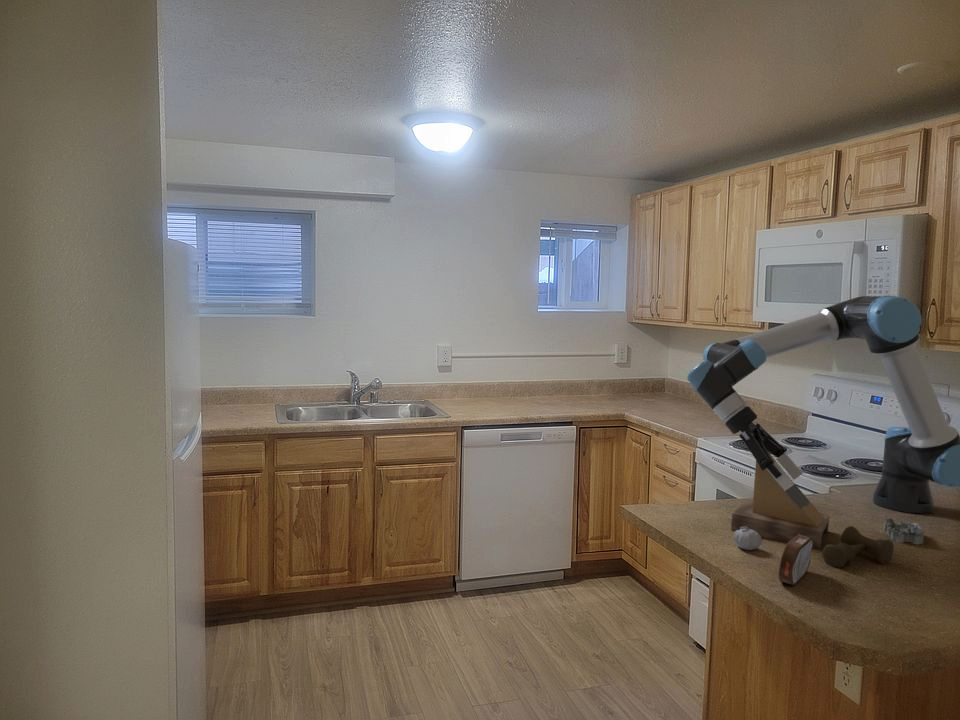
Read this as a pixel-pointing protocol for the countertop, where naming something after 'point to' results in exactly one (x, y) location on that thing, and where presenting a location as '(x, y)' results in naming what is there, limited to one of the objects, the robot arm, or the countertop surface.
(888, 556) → the kendama
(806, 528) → the walnut shelf
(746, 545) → the garlic
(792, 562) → the tin
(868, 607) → the countertop surface
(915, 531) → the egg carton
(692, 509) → the countertop surface
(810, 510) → the sandwich container
